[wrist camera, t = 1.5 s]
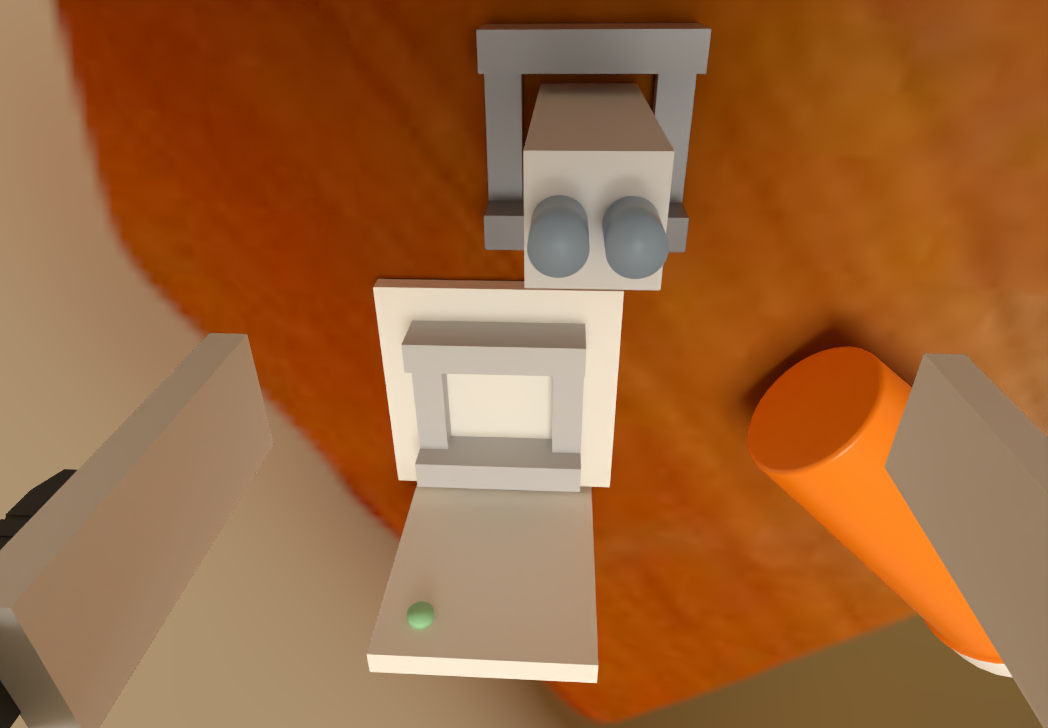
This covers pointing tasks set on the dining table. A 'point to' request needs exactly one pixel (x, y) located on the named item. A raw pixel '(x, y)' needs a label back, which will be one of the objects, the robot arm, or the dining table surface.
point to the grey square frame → (582, 51)
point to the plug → (595, 189)
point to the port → (496, 475)
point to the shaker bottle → (860, 482)
